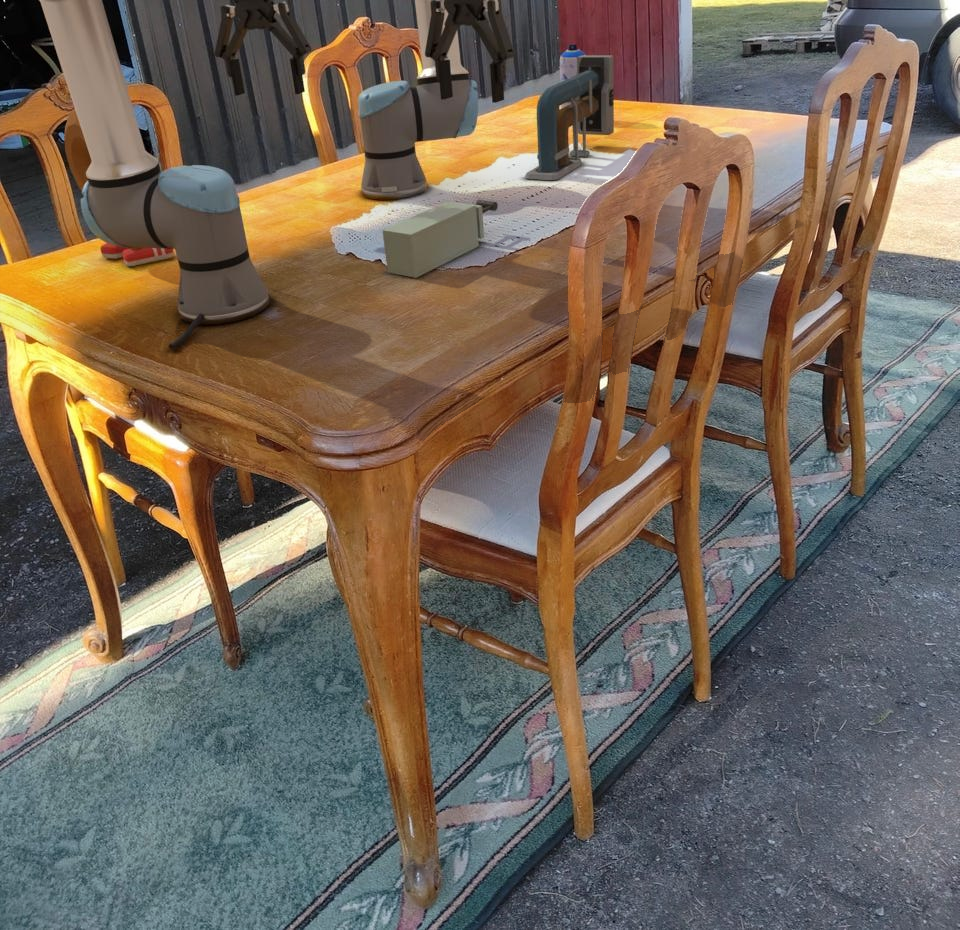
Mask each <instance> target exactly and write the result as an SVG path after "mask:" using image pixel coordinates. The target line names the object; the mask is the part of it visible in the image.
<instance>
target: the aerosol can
mask: <svg viewBox="0 0 960 930" xmlns="http://www.w3.org/2000/svg"><path fill="white" fill-rule="evenodd" d="M581 55H586V54H585V52H584V51H583V50H581V49H579V48H578V44H577V43H574V44H568V48H567V49H566V50H565V51H563V52H562V53H561V55H560V56H559V79H560V81H559V83H560V82H562V81H565V80H567V79H569V78H571V77H573V76H576V75H577V57H579V56H581ZM570 104H572V103H571V102H569V103H564V104H562V105H560V109H562V108H564V107H566V106H568V105H570Z"/></svg>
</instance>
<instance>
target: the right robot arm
mask: <svg viewBox="0 0 960 930" xmlns="http://www.w3.org/2000/svg"><path fill="white" fill-rule="evenodd" d="M414 5H415V7H414V8H415V14H416V15H415V16H416V22H417V23H416V24H417V31H418V40H419V41H418V42H419V49H420V56H421V57H420V58H421V66H422V69H421V71H420V72H419V74H418V75H417V77H416V82H417V86H411V87H410V84H409V82H408V81H407V80H397V81H395V80H393V81H387V82H383V83H380V84H375V85H374V86H371V87H370V86H369V87H368V88H366V89H365V90H363V91H361V93H360V94H359V95H358V98H357V104H358V118H359V119H360V127H361V137H362V145H363V151H364V153H363V154H364V167H363V171H362V177H361V182H360V192H361V195H362V196H363V197H364V198H367V199H371V200H380V201H384V200H385V201H389V200H390V201H391V200H400V199H406V198H410V197H414V196H417V195H420V194H422V193H424V192H425V191H426V190H428V182H427V177H426V175H425V173H424V170H423V168H422V165H421V163H420V161H419V159H418V157H417V152H416V151H417V150H416V143H418V142H429V141H438V140H446V139H458V138H461V137H468V136H470V135H472V134H473V133H474V132H475V130H476V128H477V125H478V124H477V123H478V116H479V115H478V114H479V91H478V84H477V81H476V80H473V79H470V75H469V71H468V70H467V69H466V68H465V67H464V66H462V63H461V53H460V43H459V35H458V29H459V28H460V27H461V26H467V27H472V28H473V30H475V31H476V33H477V34H478V36H479V38H480V39H481V41H482V42H483V45H484V47H485V49H486V51H487V52H488V54H489V56H490V58H491V60H492V62H491V63H489V70H490V71H489V73H490V88H491V103H495V104H496V103H500V102H501V101H504V100H505V91H504V90H505V89H504V82H506V80H507V68H506V67H507V66H506V64H507V63H506V62H507V61H509V60H510V59H512V58H515V56H516V53H515V50H514V47H513V43H512V40H511V37H510V35H509V31H508V28H507V25H506V21H505V19H504V16H503V13H502V1H501V0H414ZM485 12H486V13H487V15H486V14H485Z"/></svg>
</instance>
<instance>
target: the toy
mask: <svg viewBox="0 0 960 930" xmlns="http://www.w3.org/2000/svg"><path fill="white" fill-rule="evenodd" d="M64 150H65V151H64V152H65V156H66V160H67V164H68V166H69V170H70V172H71V174H72V176H73V178H74V181H75V182H76V185H77V187H78V188H79V190H80V191H81V192H82V189H83V187H84V185H85V183H86V182H87V181H88V179H87V176H86V171H87V170H88V168H89V166H90V164H91V161H92V160H91V157H90V154H89V151H88V148H87V145H86V142H85V139H84V135H83V132H82V129H81V126H80V123H79V120H78V117H77V114H76V111H75V108H74V109H72V110H71V111H70V112H69V113H68V116H67V120H66V123H65V126H64ZM100 253H101V257H102V258H105V259H113V260H116V259H121V258H122V259H123V262H124V264H125V265H126V266H127V267H135V266H140V265H144V264H150V263H154V262H159V261H164V260H167V259H172V258H174V256H175V251H174V249H165V248H141V247H136V248H126V247H122V246H118V245H112V244H108V243H106V242H105V243H104V244H102V245H101V246H100Z"/></svg>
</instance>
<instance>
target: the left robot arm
mask: <svg viewBox="0 0 960 930" xmlns="http://www.w3.org/2000/svg"><path fill="white" fill-rule="evenodd" d="M38 1H39V2H40V5H41V8H42V11H43V14H44V18H45V20H46V23H47V27H48V30H49V33H50V35H51V40H52V42H53V45H54V49H55V51H56V55H57V58H58V61H59V64H60V67H61V70H62V73H63V76H64V79H65V82H66V86H67V89H68V92H69V95H70V98H71V101H72V104H73V108H74V109H75V111H76V114H77V117H78V120H79V123H80V126H81V129H82V132H83V135H84V139H85V142H86V145H87V148H88V151H89V154H90V157H91V160H92V161H91V164H90V166H89V168H88V170H87V171H86V176H87V179H88V181H87V182H86V183H85V185H84V187H83V189H82V191H81V195H82V196H83V197H82V198H80V209H81V213H82V216H83V219H84V221H85V223H86V225H87V226H88V228H89V230H90V231H91V232H92V233H93V234H94V235H95V237H96V238H98V239H99V240H101V241H102V242H104V243H105V244H106V243H108V244H112V245H118V246H122V247H126V248H136V247H141V248H165V249H173V250H175V251H174V252H175V254H176V258H177V262H178V266H179V283H178V294H177V310H178V314H179V318H180V319H182V320H183V321H184V322H186V323H189V325H188V326H187V328H186V329H185V330H184V332H183V333H181V335H180V336H178V337H176V339H174V340H173V341H172V342H171V343H169V344H168V348H169V350H171V351H173V350H175V349H176V348H178V347H179V346H180V345H182V344H183V343H184V342H185V341H187V339H188V338H189V337H190V336H191V334H192V333H193V332H194V331H195V329H196V328H197V327H198V326H199V325H202V326H203V325H204V326H205V325H206V326H210V325H222V324H230V323H233V322H239V321H241V320H245V319H248V318H251V317H253V316H256V315H258V314H260V312H263V311H264V310H265V309H266V308H267V307H268V306H269V305H270V296H269V291H268V289H267V287H266V284H265V283H264V282H263V280H262V278H261V276H260V274H259V272H258V270H257V269H256V267H255V265H254V264H253V262H252V260H251V257H250V251H249V246H248V241H247V240H248V239H247V236H246V232H245V226H244V225H245V224H244V220H243V216H242V211H241V206H240V203H241V201H240V200H241V199H240V196H239V194H238V193H237V188H236V184H235V181H234V179H233V178H232V176H231V174H230V173H229V172H228V171H226V170H224V169H221V168H219V167H216V166H211V165H201V164H192V165H177V166H173V167H169V168H166V169H164V170H162V169H161V167H160V162H159V159H158V158H157V157H155V156H154V155H153V154H151V153H149V152H148V151H147V150H146V148H145V144H144V142H143V137H142V134H141V131H140V128H139V123H138V121H137V117H136V114H135V110H134V106H133V105H132V104H133V103H132V100H131V97H130V93H129V90H128V87H127V83H126V79H125V76H124V73H123V69H122V66H121V61H120V59H119V54H118V52H117V48H116V44H115V41H114V37H113V34H112V31H111V27H110V24H109V21H108V17H107V13H106V10H105V6H104V2H103V0H38ZM276 13H277V14H278V15H279V17H280V19H281V20H282V22H283V24H284V26H285V28H286V30H287V31H288V32H287V31H286V30H285V29H284V28H283V26H282V25H281V22H280V21H279V20H278V19H277V18H276V17H275V16H276ZM220 15H221V16H220V17H221V19H220V24H219V30H218V33H217V34H218V35H217V38H216V45H215V48H214V56H215V57H216V58H220V59H223V60H224V62H225V68H226V72H227V76H228V78H231V81H232V86H233V92H234V96H241V95H243V94H246V89H245V85H244V80H243V74H242V69H241V63H240V59H239V58H237V53H238V52H239V49H240V47H241V45H242V43H243V41H244V39H245V37H246V35H247V33H248V31H251V30H252V31H253V30H256V29H257V30H265V29H266V30H268V32H271V33H272V34H273V36H274V37H275V38H276V39H277V40H278V41H279V42H280V43H281V44H282V46H283V47H284V48H285V50H287V52H289V54H291V56H292V57H291V58H289V64H290V71H291V76H292V82H293V88H294V95H301V94H302V93H305V91H306V90H305V89H306V88H305V85H304V84H305V83H304V78H303V75H306V67H305V59H304V57H305V55H307V54H309V53H311V52H312V50H313V49H312V46H311V45H310V43H309V41H308V39H307V38H306V36H305V34H304V33H303V31H302V29H301V27H300V26H299V24H298V22H297V21H296V18H295V17H294V15H293V13H292V9H291V6H290V2H288V1H282V2H278V3H275V2H274V0H234V5H232V4H224V5H221V7H220ZM235 15H236V17H237V18H238V19H239V20H238V22H237V23H236V26H235V30H234V33H233V34H232V36H231V32H232V28H233V23H234V18H235ZM289 34H290V35H289ZM230 38H231V39H230Z"/></svg>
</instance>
